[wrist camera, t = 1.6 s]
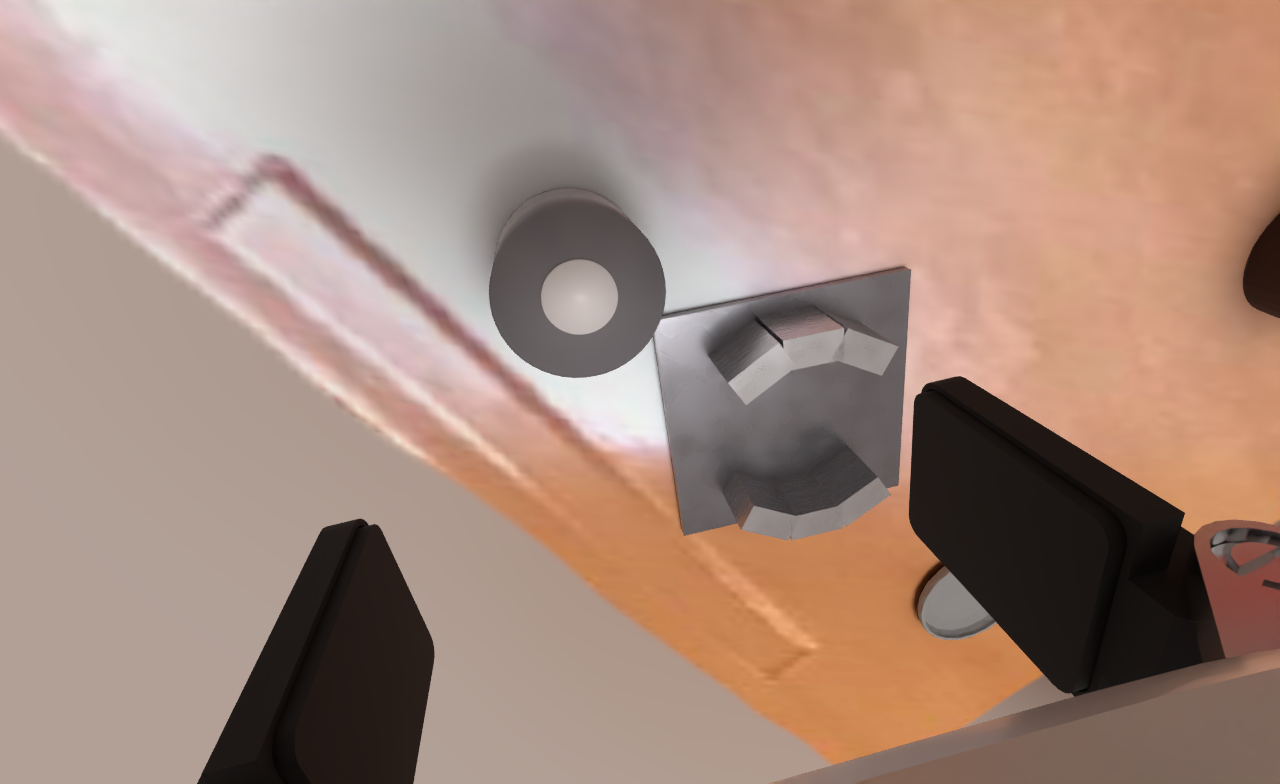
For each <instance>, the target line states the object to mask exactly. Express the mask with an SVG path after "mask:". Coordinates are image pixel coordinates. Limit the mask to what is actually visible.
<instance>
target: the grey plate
mask: <svg viewBox="0 0 1280 784" xmlns="http://www.w3.org/2000/svg"><path fill="white" fill-rule="evenodd" d="M910 278H911V269H908V268H906V267H902V268H897V269H892V270H887V271H882V272H877V273H872V274H867V275H862V276H857V277H852V278H847V279H842V280H837V281H832V282H827V283H822V284H817V285H812V286H807V287H802V288H797V289H792V290H787V291H782V292H777V293H772V294H767V295H762V296H757V297H752V298H747V299H742V300H737V301H732V302H727V303H722V304H717V305H712V306H707V307H702V308H697V309H692V310H687V311H682V312H677V313H672V314H667V315H662V317H661V320H660V323H659V325H658V327H657V329H656V331H655V333H654V335H653V338H654V344H655V351H656V358H657V365H658V372H659V378H660V385H661V392H662V399H663V405H664V412H665V419H666V426H667V433H668V439H669V446H670V453H671V460H672V467H673V473H674V480H675V487H676V494H677V501H678V507H679V514H680V521H681V528H682V532H683V534H684V536H685V535H689V534H693V533H698V532H702V531H706V530H711V529H715V528H719V527H723V526H728V525H732V524H736V523H738V525H739V527H740V529H741V530H744V531H748V532H753V533H757V534H762V535H766V536H770V537H775V538H779V539H784V540H789V538H790V539H791V540H795V539H799V538H804V537H808V536H812V535H816V534H820V533H825V532H829V531H833V530H837V529H841V528H843V523H844V525H845V526H848V525H849V524H850V523H852V522H853V521H855V520H856V519H857V518H859V517H860V516H862V515H863V514H864V513H866V512H867V511H869V510H870V509H871V508H873V507H874V506H876V505H877V504H878V503H880V502H881V501H883V500H884V499H885V498H887V497H888V496H890V495H891V494H890V493H889V491H888V490H887V489H886V488H890V487H894V486H898V483H899V466H900V449H901V432H902V415H903V397H904V380H905V363H906V346H907V329H908V312H909V295H910Z"/></svg>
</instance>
